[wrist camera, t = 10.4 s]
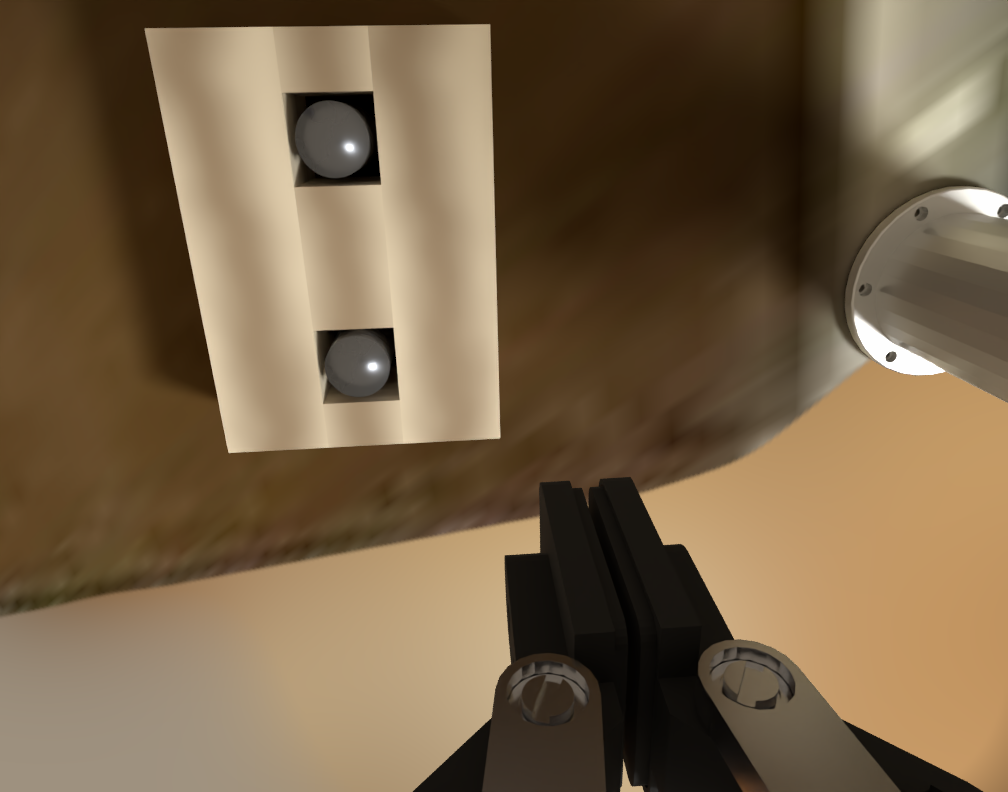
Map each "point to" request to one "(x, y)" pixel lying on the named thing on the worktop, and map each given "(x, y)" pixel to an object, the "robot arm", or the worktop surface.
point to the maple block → (338, 227)
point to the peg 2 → (360, 360)
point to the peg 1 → (336, 138)
